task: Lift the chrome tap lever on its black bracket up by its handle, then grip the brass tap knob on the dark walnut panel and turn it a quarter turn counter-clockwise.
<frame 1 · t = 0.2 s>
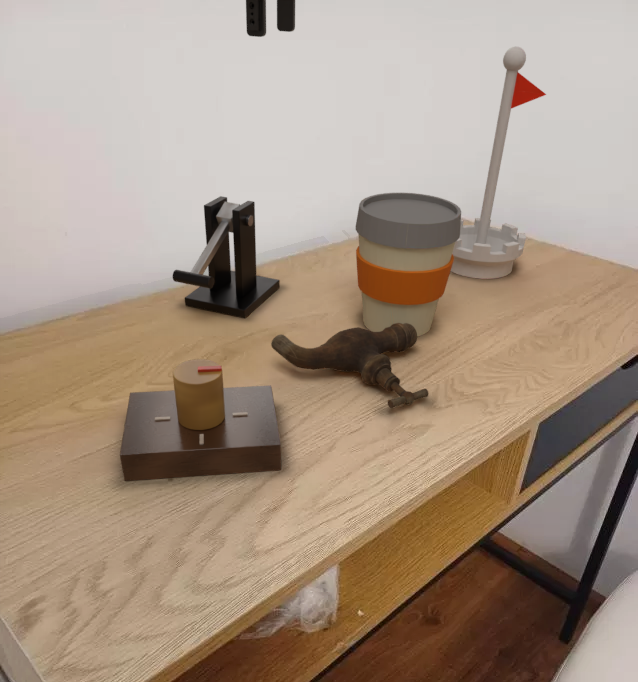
hand: (271, 33, 79), 31 cm above the table, tool pointing down, fingers open, 8 cm apart
mixer bracket: (234, 296, 90), on the table
tap lever: (213, 245, 81), point 9 cm above the table, hinge at -25.0°
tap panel: (203, 442, 62), on the table
reusable coffee cup: (396, 323, 85), on the table
tap knob: (199, 392, 59), point 6 cm above the table, hinge at 0.0°
flag stand: (476, 266, 102), on the table
faucet: (369, 379, 73), on the table
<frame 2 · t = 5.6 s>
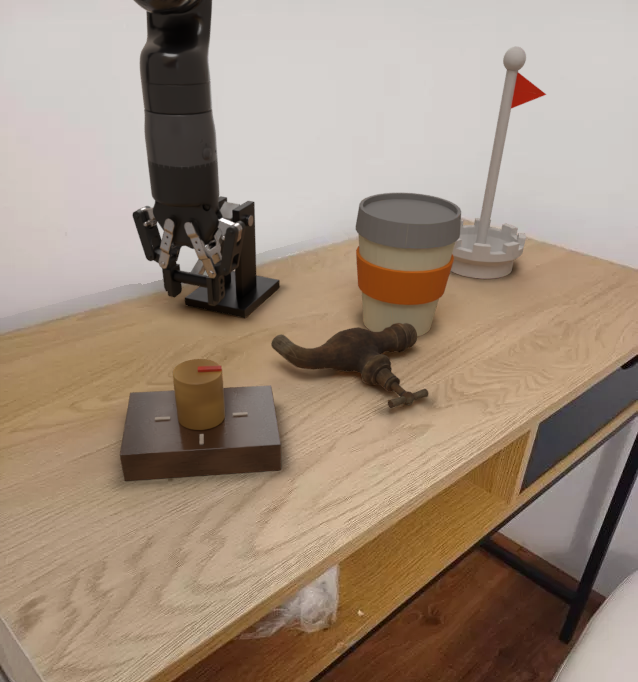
hand: (194, 298, 80), 4 cm above the table, tool pointing down, fingers closed on tap lever, 5 cm apart
tap lever: (213, 245, 81), point 9 cm above the table, hinge at -25.1°, touching gripper
everything else where it was.
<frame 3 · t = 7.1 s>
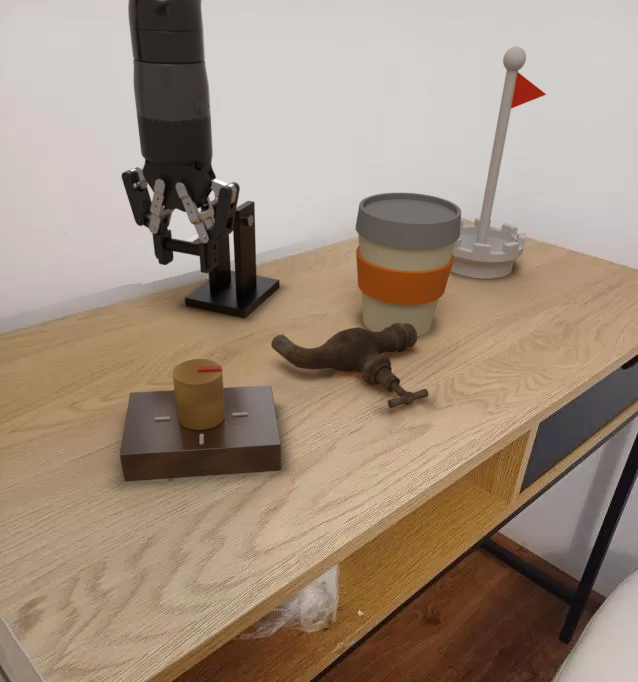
hand: (186, 266, 76), 8 cm above the table, tool pointing down, fingers closed on tap lever, 5 cm apart
tap lever: (210, 230, 79), point 11 cm above the table, hinge at -1.6°, touching gripper
everything else where it was.
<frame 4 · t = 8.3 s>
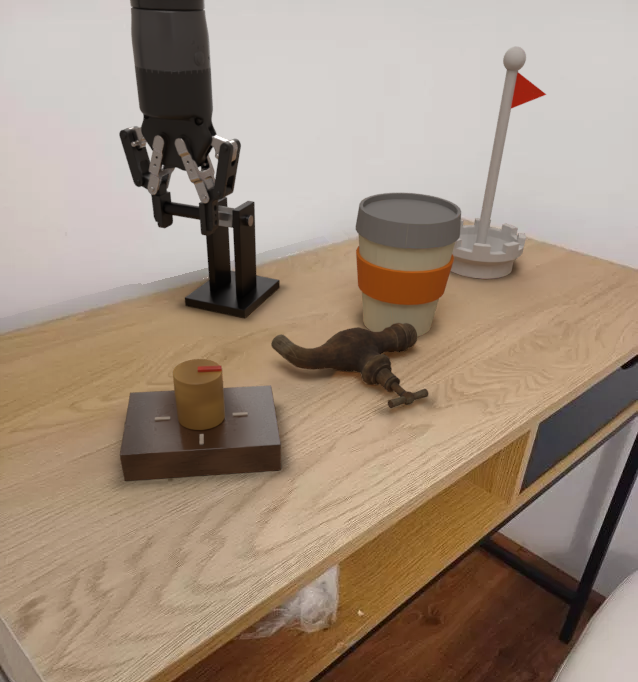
hand: (186, 229, 74), 13 cm above the table, tool pointing down, fingers closed on tap lever, 5 cm apart
tap lever: (210, 214, 78), point 13 cm above the table, hinge at 19.7°, touching gripper
everything else where it was.
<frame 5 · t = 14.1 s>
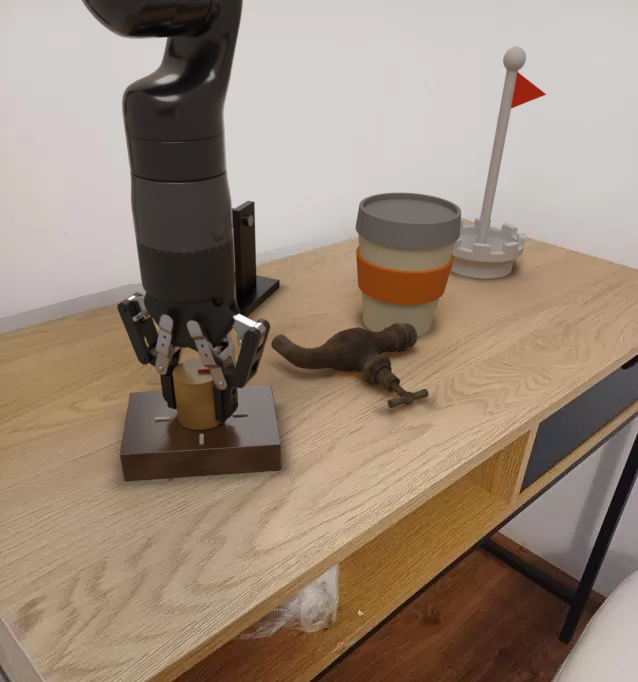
hand: (200, 409, 60), 4 cm above the table, tool pointing down, fingers closed on tap knob, 4 cm apart
tap lever: (210, 215, 78), point 13 cm above the table, hinge at 18.8°
tap knob: (199, 392, 59), point 6 cm above the table, hinge at 0.0°, touching gripper
everything else where it was.
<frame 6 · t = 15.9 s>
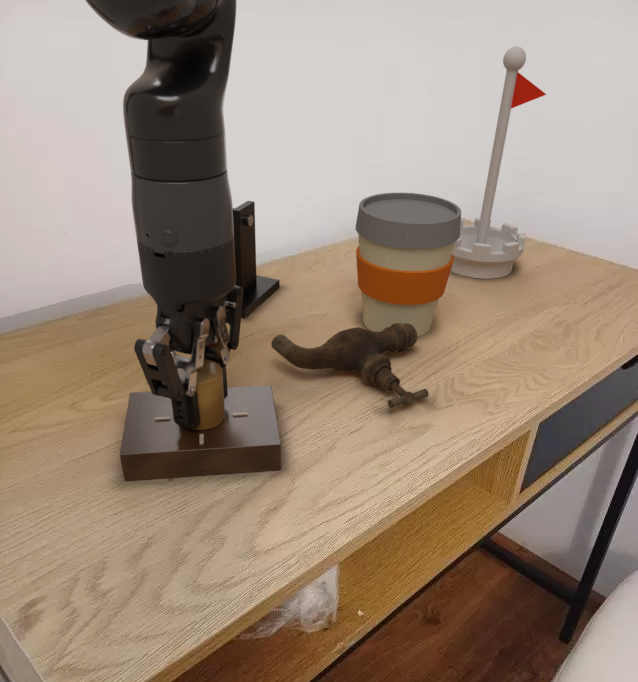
hand: (202, 410, 60), 4 cm above the table, tool pointing down, fingers closed on tap knob, 4 cm apart
tap knob: (199, 392, 59), point 6 cm above the table, hinge at 92.5°, touching gripper
everything else where it was.
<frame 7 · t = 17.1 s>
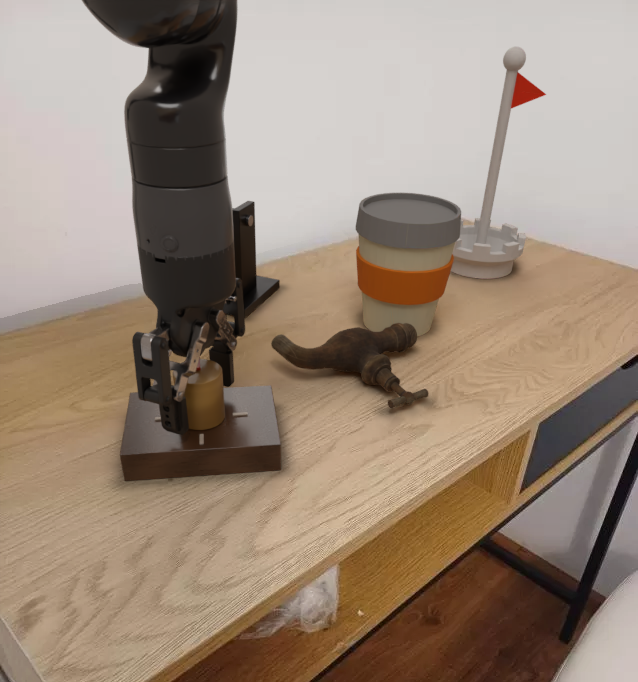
hand: (200, 406, 60), 4 cm above the table, tool pointing down, fingers open, 8 cm apart
tap knob: (199, 392, 59), point 6 cm above the table, hinge at 91.8°
everything else where it was.
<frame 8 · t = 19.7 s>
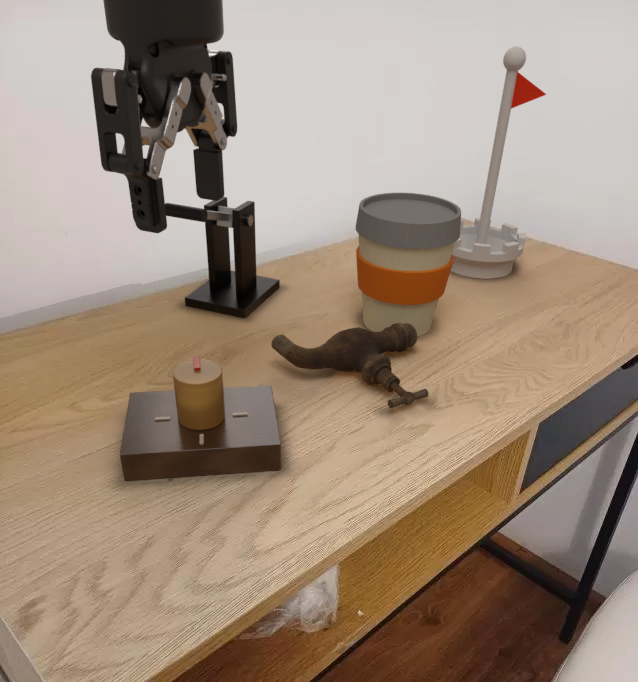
hand: (183, 213, 49), 22 cm above the table, tool pointing down, fingers open, 8 cm apart
nothing on the table moved.
at the end: tap lever at +19° (first picture: -25°); tap knob at +92° (first picture: +0°) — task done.
